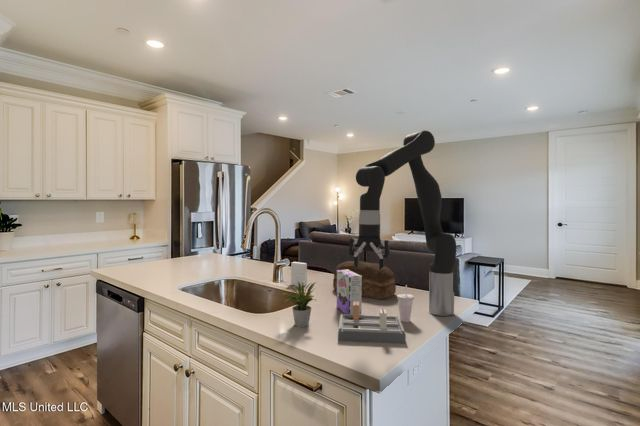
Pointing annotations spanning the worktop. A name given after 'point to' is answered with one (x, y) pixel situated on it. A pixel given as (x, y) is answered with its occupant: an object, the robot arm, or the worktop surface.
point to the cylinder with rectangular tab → (298, 273)
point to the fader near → (383, 319)
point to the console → (370, 329)
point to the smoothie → (405, 306)
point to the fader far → (356, 310)
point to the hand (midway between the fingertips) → (368, 268)
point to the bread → (371, 279)
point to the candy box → (348, 290)
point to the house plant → (301, 304)
